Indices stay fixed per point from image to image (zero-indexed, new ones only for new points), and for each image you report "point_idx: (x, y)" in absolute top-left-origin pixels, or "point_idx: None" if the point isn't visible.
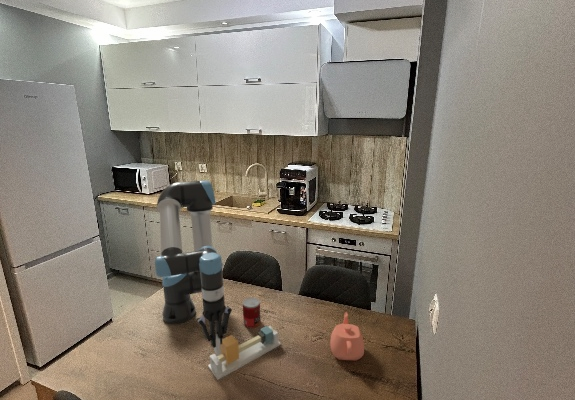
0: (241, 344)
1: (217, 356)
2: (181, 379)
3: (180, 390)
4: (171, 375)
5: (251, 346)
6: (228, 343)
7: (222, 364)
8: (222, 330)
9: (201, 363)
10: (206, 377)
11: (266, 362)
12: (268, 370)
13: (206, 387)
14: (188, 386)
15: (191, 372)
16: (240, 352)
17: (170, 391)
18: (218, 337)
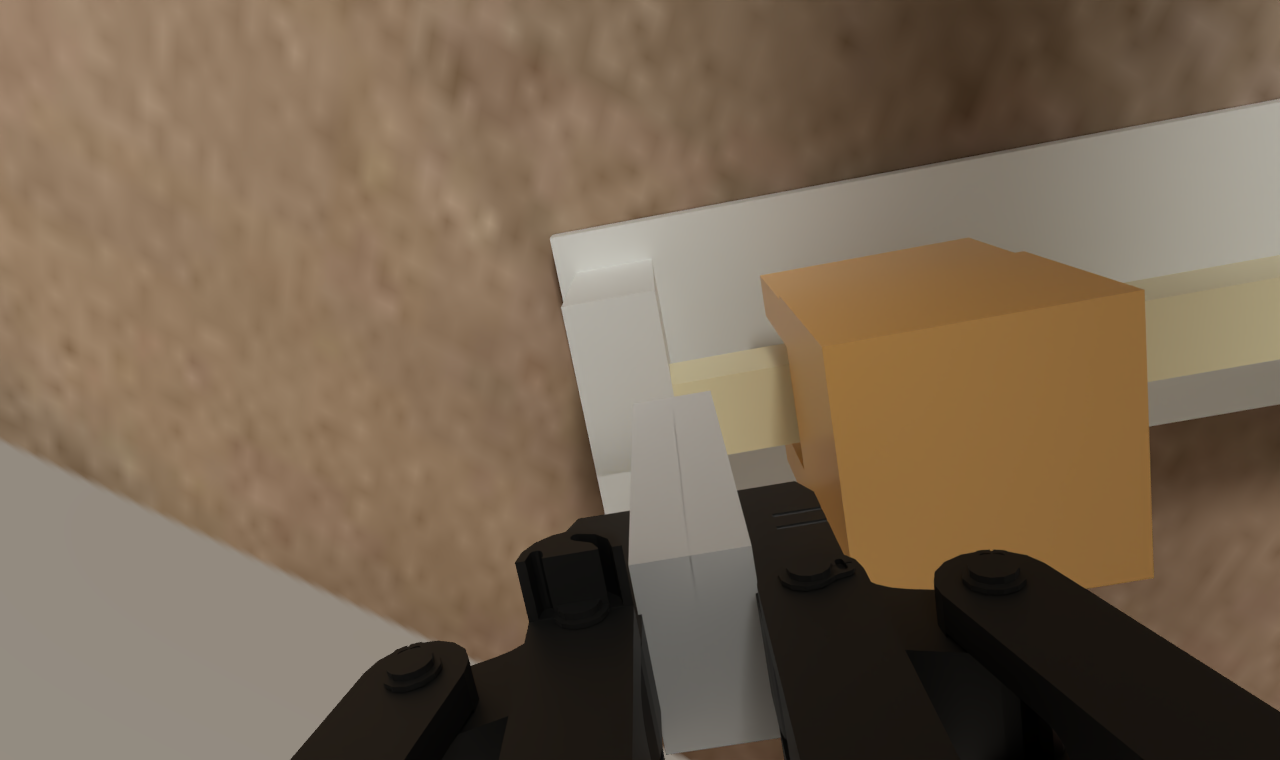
0: (1165, 309)
1: (680, 392)
2: (180, 279)
3: (162, 446)
4: (47, 139)
5: (1273, 181)
6: (945, 535)
7: (738, 328)
8: (969, 715)
9: (477, 116)
10: (491, 402)
11: (1262, 531)
12: (1205, 652)
13: (460, 545)
14: (259, 433)
15: (318, 221)
16: (1063, 225)
17: (44, 404)
18: (762, 672)
